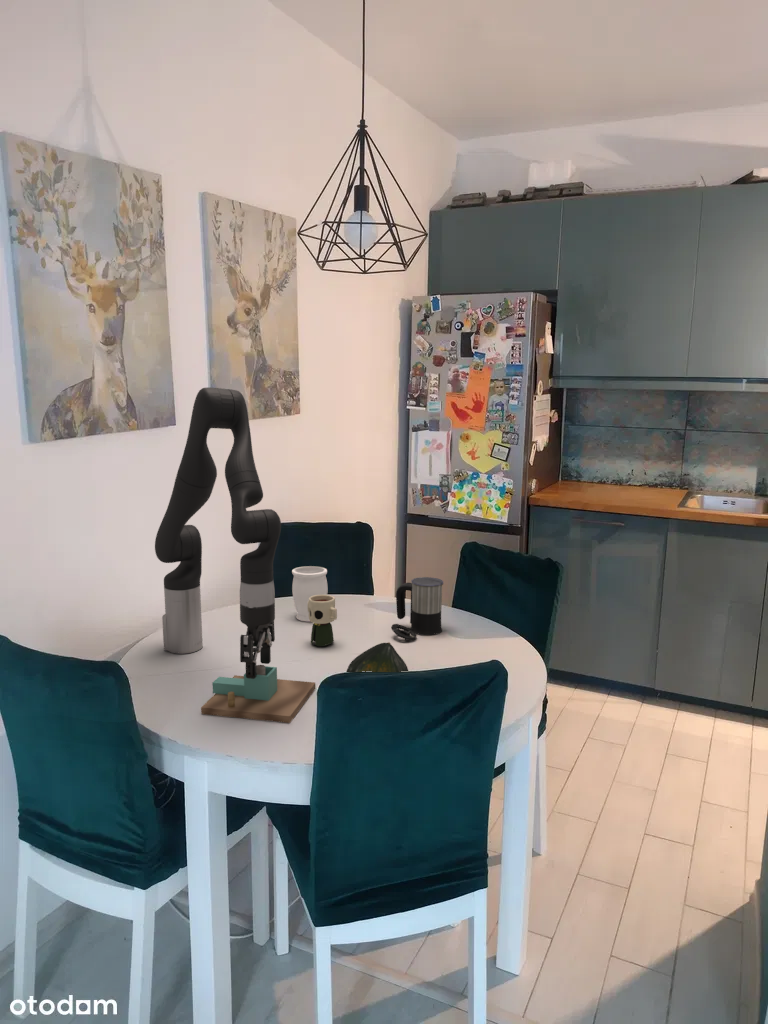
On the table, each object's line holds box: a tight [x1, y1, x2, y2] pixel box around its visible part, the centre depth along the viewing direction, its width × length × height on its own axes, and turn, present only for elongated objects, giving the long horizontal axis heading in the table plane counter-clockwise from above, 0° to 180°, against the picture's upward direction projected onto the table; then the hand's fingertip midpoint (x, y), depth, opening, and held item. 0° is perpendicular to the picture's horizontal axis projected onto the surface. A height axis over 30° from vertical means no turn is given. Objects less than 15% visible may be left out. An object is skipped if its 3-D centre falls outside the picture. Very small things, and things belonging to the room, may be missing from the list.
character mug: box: [308, 594, 338, 647], centre depth 199 cm, size 11×7×13 cm, turn 49°
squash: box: [346, 642, 409, 672], centre depth 160 cm, size 14×15×15 cm
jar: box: [291, 565, 329, 623], centre depth 221 cm, size 11×10×15 cm
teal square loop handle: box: [211, 665, 278, 701], centre depth 164 cm, size 14×6×6 cm, turn 78°
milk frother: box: [390, 576, 444, 641], centre depth 207 cm, size 14×16×15 cm
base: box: [200, 664, 317, 724], centre depth 163 cm, size 20×18×8 cm
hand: (258, 670), depth 163 cm, fingers open, 8 cm apart
